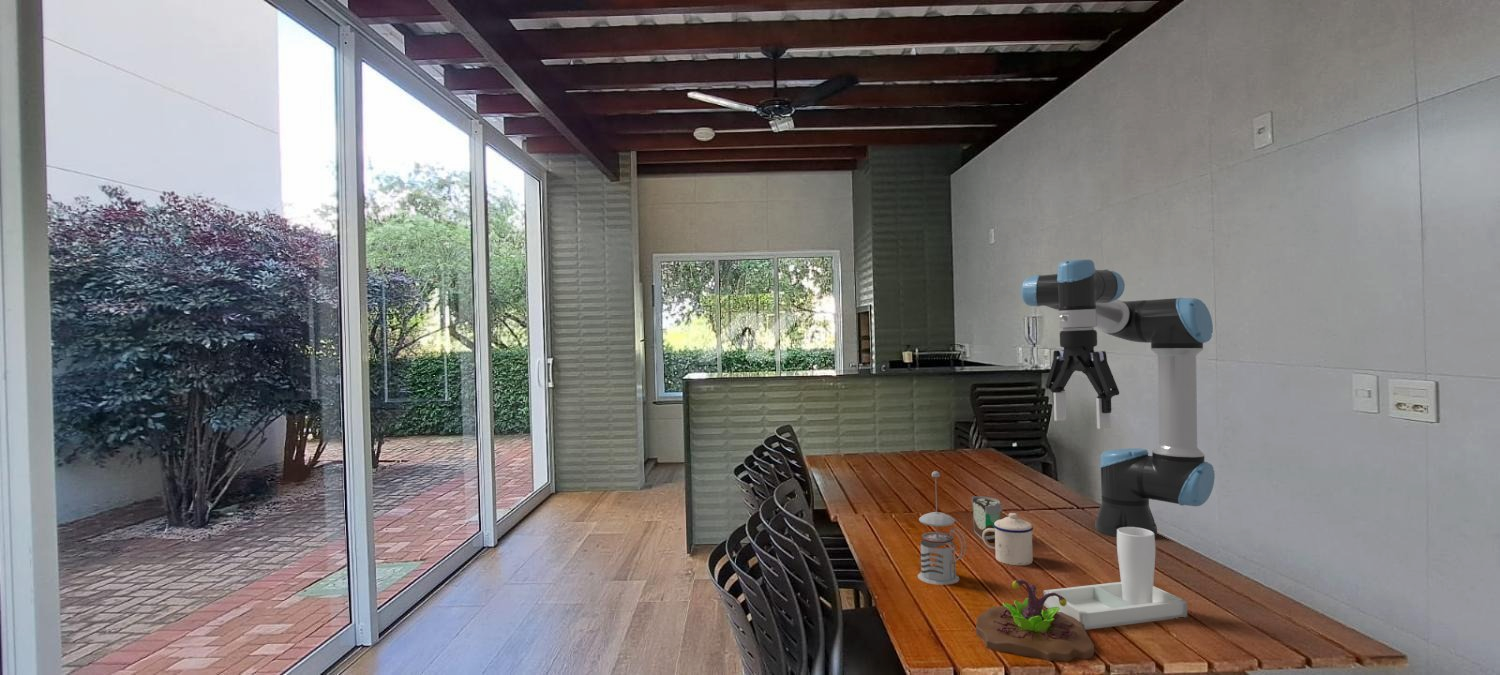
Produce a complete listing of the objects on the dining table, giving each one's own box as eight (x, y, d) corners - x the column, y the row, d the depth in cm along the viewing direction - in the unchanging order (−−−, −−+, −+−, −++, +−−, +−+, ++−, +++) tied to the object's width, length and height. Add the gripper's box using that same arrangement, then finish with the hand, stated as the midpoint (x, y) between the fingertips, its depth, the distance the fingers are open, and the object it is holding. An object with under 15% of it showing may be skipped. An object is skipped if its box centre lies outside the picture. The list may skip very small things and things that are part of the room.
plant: (973, 613, 137) (972, 558, 137) (1078, 622, 132) (1077, 565, 132) (978, 659, 118) (976, 596, 118) (1101, 672, 112) (1099, 605, 112)
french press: (930, 567, 163) (927, 465, 163) (975, 579, 155) (972, 471, 155) (908, 579, 156) (905, 472, 156) (954, 591, 148) (951, 478, 148)
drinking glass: (1156, 614, 131) (1154, 538, 131) (1117, 608, 134) (1115, 533, 134) (1157, 602, 136) (1155, 529, 136) (1119, 596, 140) (1117, 524, 140)
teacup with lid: (1036, 557, 168) (1034, 511, 168) (1031, 568, 160) (1029, 520, 160) (986, 550, 174) (985, 506, 174) (979, 561, 166) (978, 514, 166)
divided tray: (1140, 596, 142) (1140, 579, 142) (1187, 619, 131) (1186, 601, 131) (1043, 607, 138) (1043, 590, 138) (1083, 632, 126) (1082, 613, 126)
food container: (1010, 543, 180) (1009, 506, 180) (987, 543, 180) (986, 506, 180) (994, 529, 192) (993, 495, 192) (972, 530, 192) (971, 495, 192)
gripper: (1027, 330, 161) (1030, 418, 161) (1105, 329, 137) (1108, 433, 137) (1054, 329, 163) (1057, 416, 163) (1136, 328, 138) (1139, 430, 139)
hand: (1081, 424), depth 150 cm, fingers open, 13 cm apart
